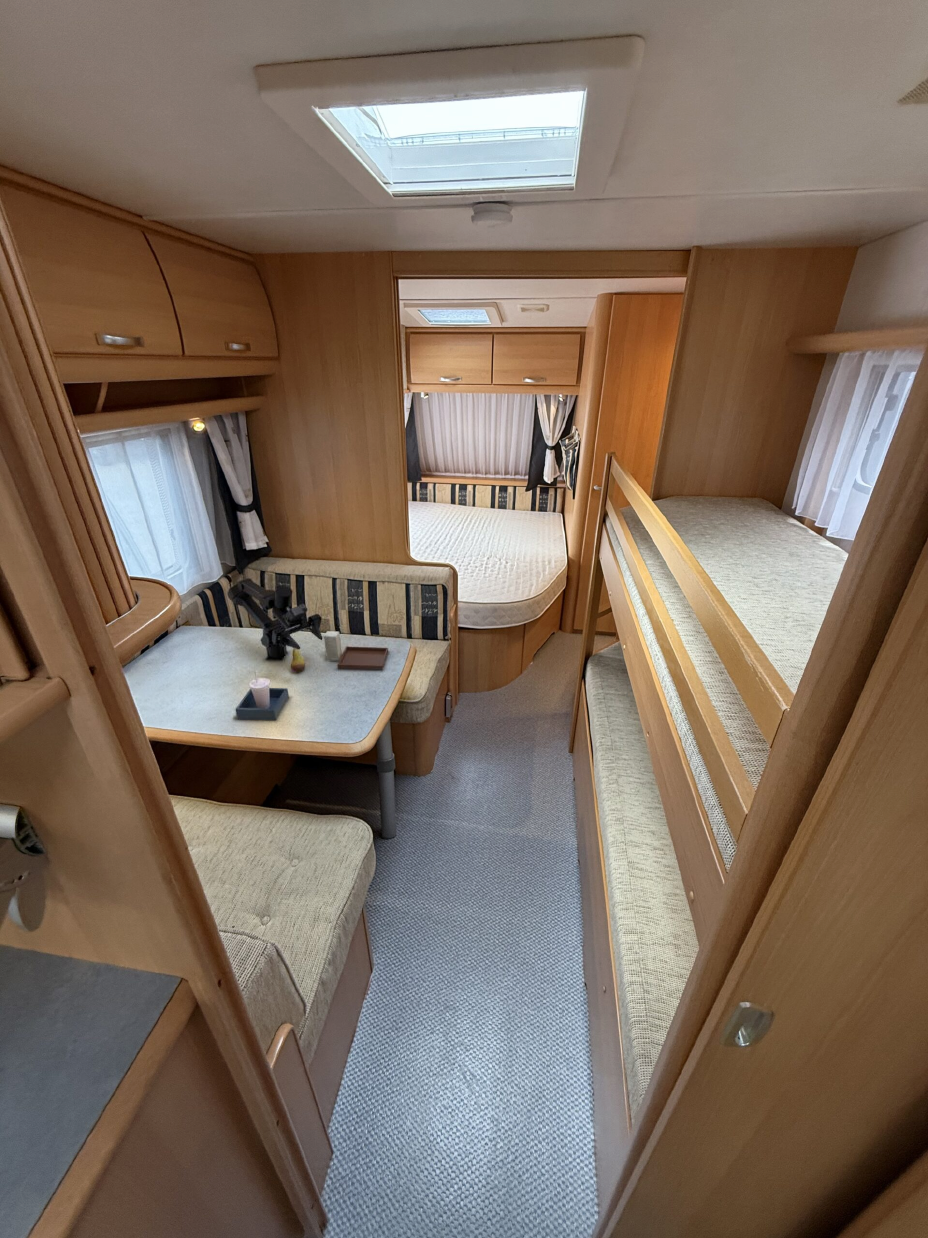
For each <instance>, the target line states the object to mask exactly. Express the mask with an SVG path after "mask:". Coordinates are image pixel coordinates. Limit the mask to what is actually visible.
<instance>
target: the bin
mask: <svg viewBox="0 0 928 1238" xmlns="http://www.w3.org/2000/svg"><path fill="white" fill-rule="evenodd" d="M269 697H270V707H269V708H268V709H258V707H257V704H256V701H255V699H254V696H253V693H252V690H251V689H250V688H249V690H248V691H247V692H246V694H245V695H244V697H243V698H242V700H240V702H239V704H238V705H237V706H236V707H235V709H234V710H235V714H236V718H237V720H249V721H250V720H251V721H252V720H253V721H277V719H278V718H279V716H280V715H281V712H282V711H283V709H284V707H285V706H286V703H287V702H288V700H289V699H290V695H289V690H288V688H284V687H269Z"/></svg>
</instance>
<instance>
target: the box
mask: <svg viewBox="0 0 928 1238" xmlns="http://www.w3.org/2000/svg"><path fill="white" fill-rule="evenodd" d="M340 635H341V634H340V631H331V630H329V631H328V630H327V631H326V632H325V633H324V635H323V641H324V647H325V655H326V660H327V661H333V662H339V660H340V658H341V656H342V654H343V651H342V643H341V636H340Z"/></svg>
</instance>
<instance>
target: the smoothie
mask: <svg viewBox="0 0 928 1238" xmlns="http://www.w3.org/2000/svg"><path fill="white" fill-rule="evenodd" d="M254 676H255V678H254V679H252V680H251V681H250V682H249V684H248V687H249V690H250V689H251V690H252V693H253V696H254V699H255V701H256V704H257V707H258V709H268V708H269V707H270V697H269V688H270V686H271V681H270V679H269V678H266V677H258V671H257V670H254Z"/></svg>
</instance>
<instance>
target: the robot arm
mask: <svg viewBox="0 0 928 1238" xmlns="http://www.w3.org/2000/svg"><path fill="white" fill-rule="evenodd" d="M226 593H227V594H226V595H227V598H228V599H229V600H230V601H231V602H232V603H233V604H234V605H236V606H240V607H242V608H243V609H244V610H245V611H246V612H247V613H248V615H250V617H251V618H253V620H254V621H255V622H256V623H257V625H258V626H259V627H260V628H261V629H262V637H261V638H260V643H261V645H262V646H264V647H265V648H266V654H267V655H266V656H267V657H266V658H265V660H266V661H283V660H284V659H285V657H286V656H287V654H288V650H287V649H288V648H287V647H289V648H292V649H293V648H294V649H297V650H301V645H300V644H299V643H298V642H297V641H296V639H294V638H293V637H292V634H296V633H298V632H302V631H303V630H306V629H308V630H309V631H310V633H311V634H312V635H314V636H315V637H316V638H317V639H319V640H320V641H323V640H324V637H323V635H322V633H321V630H320V628H321V625H322V619H323V617H322V616H321V615H320V614H319V613H315V614H313V615H310V616H308V617H307V621H305V622H303V621H304V619H305V618H304V615H305V614H306V613H307V612H308V607H307V606H306V605H305V604H304V603H301V604H299V605H297V606H294V607H292V608H290V606H291V605H292V601H293V600H292V598H293V589H292V588H291V587H288V586H285V585H284V586H283V585H281V584H278V585H275V587H274V589H265V588H264V587H263V586H261V585H260V584H258V583H256V582H254V581H253V580H252V578H244V579H241V580H238V581H237V582H236V584H234V585H232V586H231V587H230V588H228V591H227V592H226ZM255 599H256V600H257V601H258V602H257V601H256V600H255ZM269 610H271V614H272V618H271V617H270V616H269V615H268V614H267V612H265V611H269Z"/></svg>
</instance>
